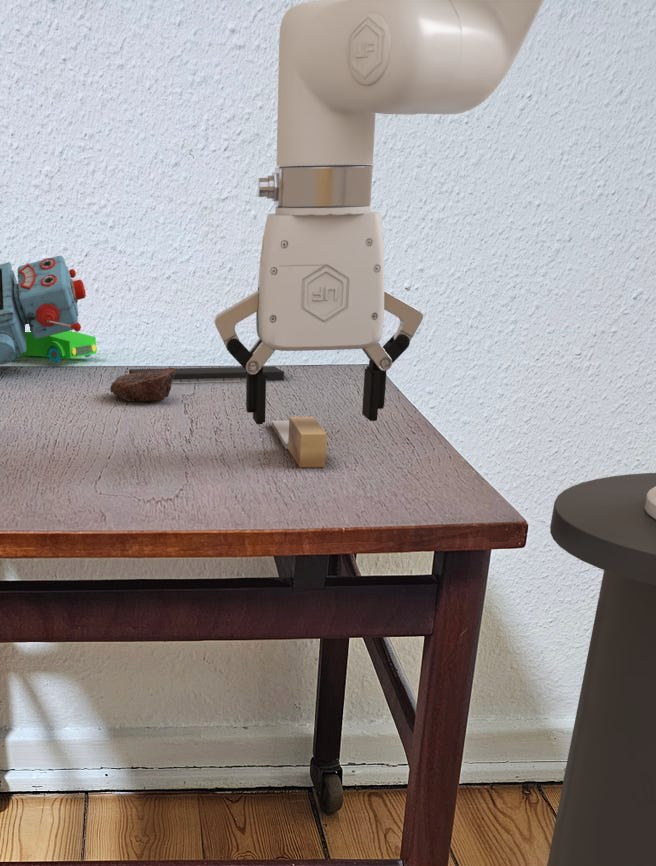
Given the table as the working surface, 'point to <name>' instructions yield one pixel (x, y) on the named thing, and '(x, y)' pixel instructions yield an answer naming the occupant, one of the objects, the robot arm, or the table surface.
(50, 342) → the toy car
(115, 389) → the stone
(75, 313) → the toy robot
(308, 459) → the knife
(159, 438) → the table surface
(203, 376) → the dark grey flat bar
